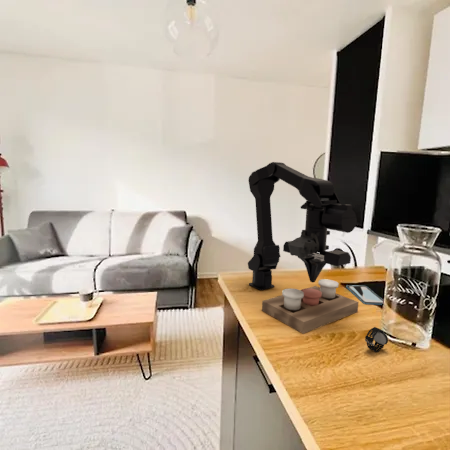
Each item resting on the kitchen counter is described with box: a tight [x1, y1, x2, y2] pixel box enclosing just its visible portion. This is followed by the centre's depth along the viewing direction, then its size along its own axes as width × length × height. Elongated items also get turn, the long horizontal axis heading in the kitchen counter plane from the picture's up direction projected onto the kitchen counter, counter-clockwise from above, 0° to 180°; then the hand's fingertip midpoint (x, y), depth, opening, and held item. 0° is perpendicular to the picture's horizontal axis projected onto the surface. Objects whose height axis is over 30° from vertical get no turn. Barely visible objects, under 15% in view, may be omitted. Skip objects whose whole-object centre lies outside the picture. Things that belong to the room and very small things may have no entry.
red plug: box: [300, 287, 322, 306], centre depth 84 cm, size 6×6×4 cm
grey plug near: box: [281, 288, 304, 310], centre depth 80 cm, size 6×6×4 cm
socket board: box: [261, 285, 359, 335], centre depth 85 cm, size 15×23×3 cm, turn 124°
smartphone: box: [345, 284, 384, 306], centre depth 98 cm, size 7×1×15 cm
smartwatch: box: [364, 326, 389, 353], centre depth 66 cm, size 4×5×5 cm
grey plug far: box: [317, 278, 340, 298], centre depth 88 cm, size 6×6×4 cm
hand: (312, 281), depth 83 cm, fingers closed
